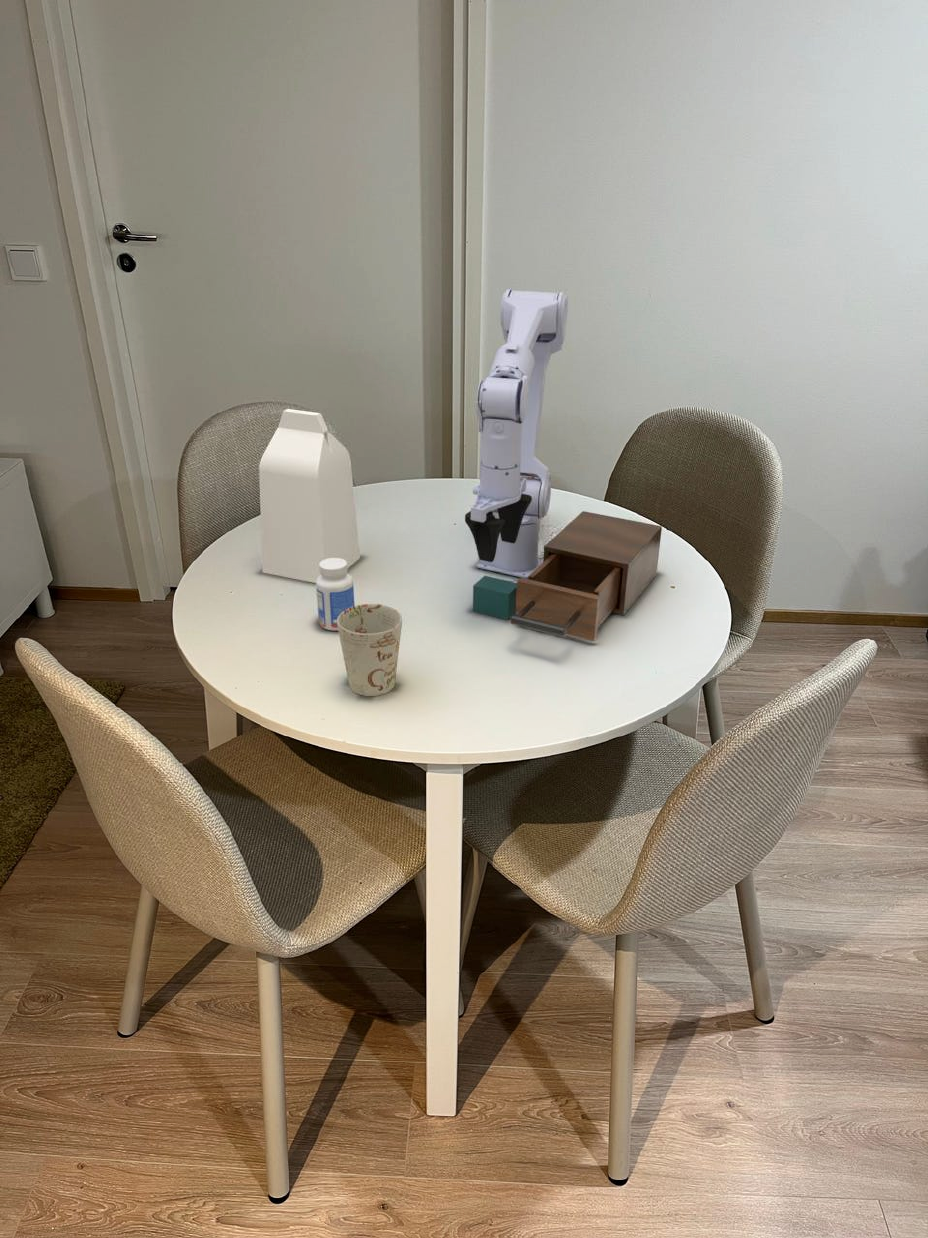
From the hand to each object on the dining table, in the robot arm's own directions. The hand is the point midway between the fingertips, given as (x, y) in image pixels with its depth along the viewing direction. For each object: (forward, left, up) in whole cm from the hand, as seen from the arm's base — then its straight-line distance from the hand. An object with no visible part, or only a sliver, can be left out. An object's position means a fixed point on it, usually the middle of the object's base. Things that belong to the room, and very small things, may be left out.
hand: (497, 550), depth 145 cm
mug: (-7, -26, -10) cm, 29 cm away
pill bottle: (-19, -15, -10) cm, 26 cm away
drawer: (+11, +1, -9) cm, 14 cm away
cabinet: (+11, +16, -10) cm, 22 cm away
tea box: (0, 0, -10) cm, 10 cm away
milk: (-34, 0, -10) cm, 35 cm away
